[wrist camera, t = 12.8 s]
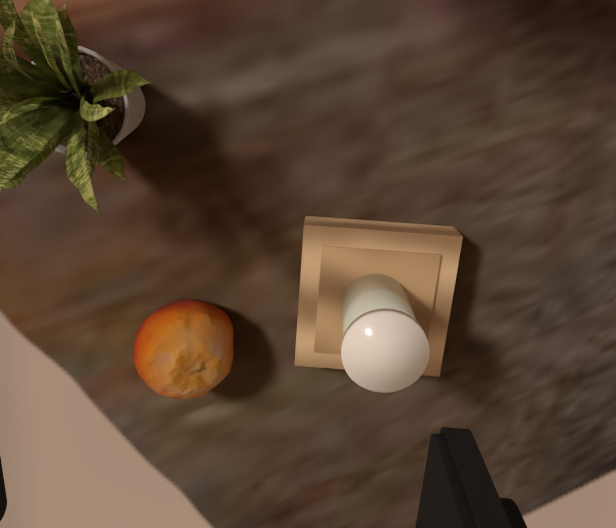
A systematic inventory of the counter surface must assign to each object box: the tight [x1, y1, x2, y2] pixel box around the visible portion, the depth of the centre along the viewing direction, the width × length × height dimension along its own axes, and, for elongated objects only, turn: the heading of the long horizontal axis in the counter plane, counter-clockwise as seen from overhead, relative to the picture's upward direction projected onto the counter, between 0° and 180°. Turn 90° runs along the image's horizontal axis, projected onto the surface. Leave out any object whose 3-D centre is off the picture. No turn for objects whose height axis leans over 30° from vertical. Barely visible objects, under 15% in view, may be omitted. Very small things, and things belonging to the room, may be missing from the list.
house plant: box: [0, 0, 153, 216], centre depth 32 cm, size 14×14×16 cm
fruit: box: [133, 299, 234, 399], centre depth 43 cm, size 8×8×8 cm
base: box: [295, 216, 463, 377], centre depth 42 cm, size 12×12×3 cm
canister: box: [341, 274, 430, 392], centre depth 37 cm, size 6×6×8 cm
